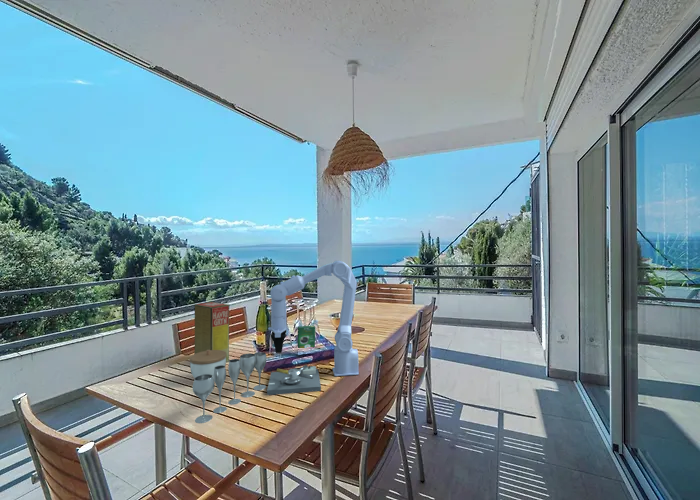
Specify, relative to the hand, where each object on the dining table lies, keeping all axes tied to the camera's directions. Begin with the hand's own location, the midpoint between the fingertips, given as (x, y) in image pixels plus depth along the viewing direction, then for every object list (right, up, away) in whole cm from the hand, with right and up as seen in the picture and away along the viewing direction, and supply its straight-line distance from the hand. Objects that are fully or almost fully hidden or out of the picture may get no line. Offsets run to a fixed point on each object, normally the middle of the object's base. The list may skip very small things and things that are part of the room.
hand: (279, 351), depth 121 cm
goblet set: (-10, -10, -21) cm, 25 cm away
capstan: (+8, -8, -10) cm, 15 cm away
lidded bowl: (-26, -10, -3) cm, 28 cm away
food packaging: (-33, -10, +16) cm, 38 cm away
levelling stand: (+7, -9, -7) cm, 14 cm away
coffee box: (+7, -10, +24) cm, 27 cm away
